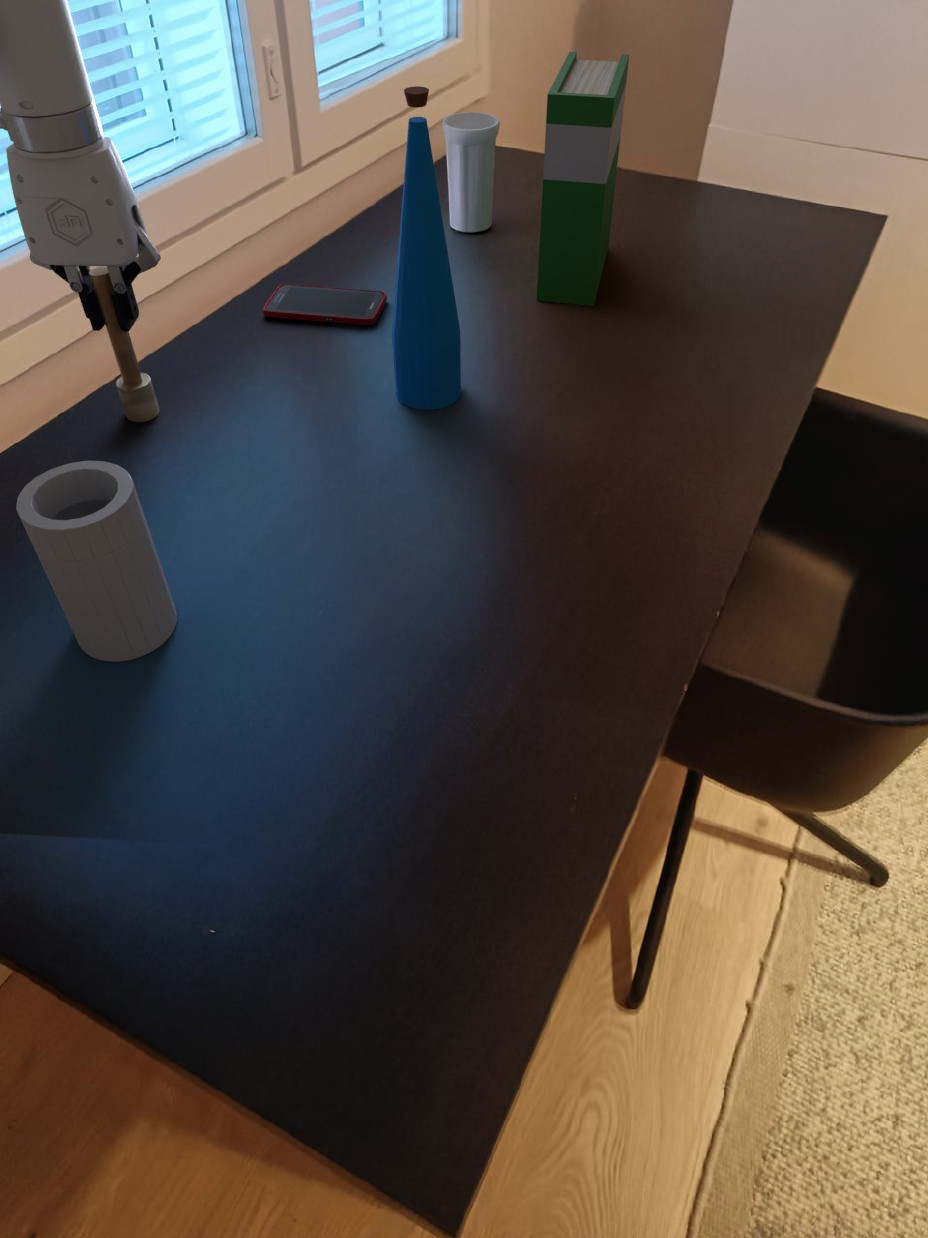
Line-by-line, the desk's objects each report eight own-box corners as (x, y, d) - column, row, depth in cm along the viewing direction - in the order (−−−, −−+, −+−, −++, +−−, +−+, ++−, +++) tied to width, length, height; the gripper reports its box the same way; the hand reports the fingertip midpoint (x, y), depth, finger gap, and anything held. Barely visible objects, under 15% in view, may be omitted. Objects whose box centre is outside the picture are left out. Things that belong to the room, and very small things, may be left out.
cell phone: (280, 290, 118) (279, 283, 118) (388, 298, 117) (388, 291, 116) (261, 317, 113) (260, 310, 112) (374, 327, 111) (373, 319, 111)
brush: (121, 421, 97) (74, 278, 86) (132, 403, 100) (88, 262, 88) (153, 422, 97) (111, 279, 86) (163, 404, 100) (123, 263, 88)
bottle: (384, 387, 102) (360, 87, 80) (438, 368, 105) (430, 73, 83) (418, 417, 98) (403, 109, 76) (473, 396, 100) (474, 93, 78)
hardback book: (556, 244, 128) (569, 51, 111) (608, 248, 127) (629, 54, 110) (536, 300, 116) (547, 93, 99) (593, 305, 115) (614, 97, 98)
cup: (487, 240, 129) (488, 133, 119) (435, 232, 131) (432, 126, 121) (505, 219, 135) (508, 114, 124) (455, 212, 137) (453, 108, 126)
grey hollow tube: (62, 659, 73) (-4, 527, 63) (97, 590, 79) (42, 458, 69) (160, 664, 73) (110, 531, 63) (188, 594, 78) (147, 462, 68)
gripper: (-54, 140, 76) (24, 341, 89) (131, 143, 75) (182, 345, 88) (-15, 112, 81) (53, 305, 94) (158, 114, 80) (203, 309, 93)
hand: (115, 323), depth 91 cm, fingers closed
